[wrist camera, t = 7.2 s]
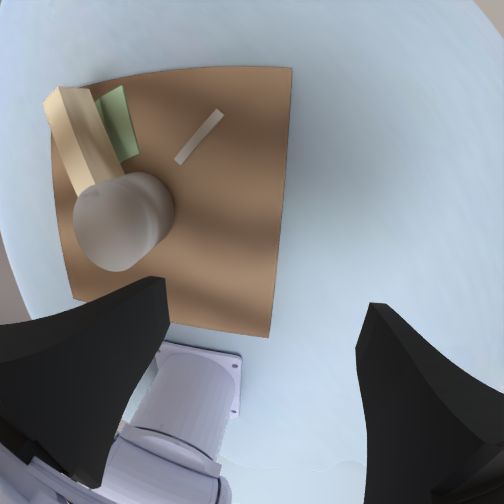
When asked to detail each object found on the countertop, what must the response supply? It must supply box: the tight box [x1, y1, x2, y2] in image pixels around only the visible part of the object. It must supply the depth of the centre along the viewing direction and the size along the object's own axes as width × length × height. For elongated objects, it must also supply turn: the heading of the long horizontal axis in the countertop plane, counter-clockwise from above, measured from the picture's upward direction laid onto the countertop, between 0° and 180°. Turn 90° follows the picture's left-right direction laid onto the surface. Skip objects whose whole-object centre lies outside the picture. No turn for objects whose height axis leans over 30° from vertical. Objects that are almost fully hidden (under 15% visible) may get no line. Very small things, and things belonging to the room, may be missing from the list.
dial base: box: [51, 66, 292, 338], centre depth 18 cm, size 18×18×1 cm
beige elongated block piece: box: [43, 86, 174, 272], centre depth 15 cm, size 12×5×4 cm, turn 25°
